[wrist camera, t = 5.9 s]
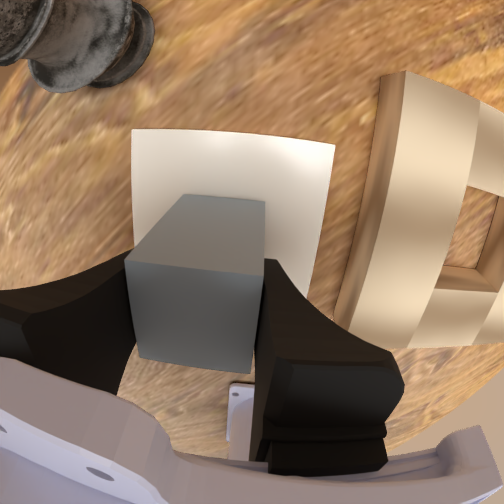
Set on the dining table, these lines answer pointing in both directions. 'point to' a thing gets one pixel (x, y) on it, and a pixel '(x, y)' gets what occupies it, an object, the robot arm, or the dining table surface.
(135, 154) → the coaster
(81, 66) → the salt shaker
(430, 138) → the pocket board
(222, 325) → the peg
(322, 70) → the dining table surface
